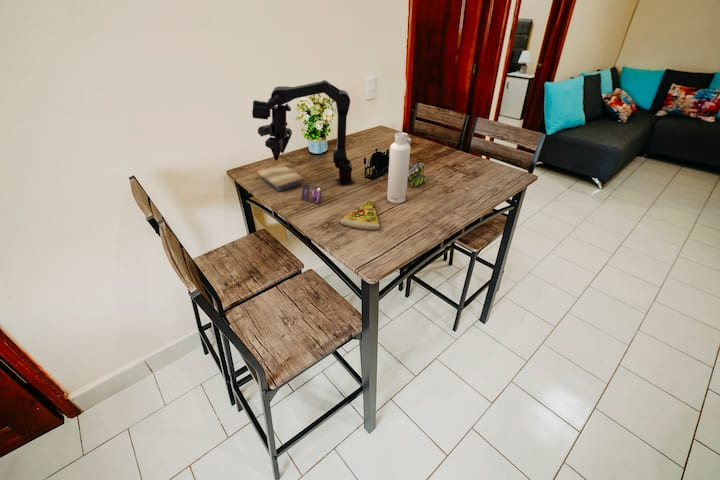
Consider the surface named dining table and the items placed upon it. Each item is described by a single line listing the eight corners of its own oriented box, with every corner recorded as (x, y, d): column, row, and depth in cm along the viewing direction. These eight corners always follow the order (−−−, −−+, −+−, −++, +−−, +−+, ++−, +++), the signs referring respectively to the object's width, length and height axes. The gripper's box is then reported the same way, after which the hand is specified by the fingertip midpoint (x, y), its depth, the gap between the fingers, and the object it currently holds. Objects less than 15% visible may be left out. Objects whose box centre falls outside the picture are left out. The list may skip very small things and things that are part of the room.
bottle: (383, 195, 147) (387, 132, 131) (400, 192, 150) (405, 129, 133) (391, 204, 141) (396, 139, 125) (409, 201, 143) (415, 136, 127)
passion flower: (407, 190, 163) (407, 165, 163) (429, 189, 159) (430, 164, 159) (402, 186, 152) (402, 160, 152) (426, 185, 149) (426, 158, 149)
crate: (298, 184, 156) (298, 178, 154) (279, 191, 150) (278, 185, 149) (281, 173, 165) (280, 167, 164) (263, 179, 160) (262, 173, 158)
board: (303, 179, 153) (303, 177, 153) (278, 187, 147) (277, 185, 146) (281, 165, 166) (281, 163, 165) (257, 172, 159) (256, 170, 158)
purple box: (302, 183, 142) (320, 188, 139) (308, 182, 146) (326, 187, 143) (300, 199, 144) (318, 203, 141) (307, 197, 148) (324, 202, 145)
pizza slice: (338, 226, 128) (338, 219, 126) (354, 200, 144) (354, 194, 142) (378, 232, 124) (378, 225, 123) (389, 205, 141) (390, 199, 139)
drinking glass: (411, 158, 181) (413, 140, 175) (400, 160, 179) (401, 141, 173) (405, 153, 186) (407, 136, 180) (394, 155, 184) (396, 137, 178)
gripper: (267, 111, 146) (267, 146, 155) (251, 123, 131) (253, 161, 140) (292, 115, 146) (291, 150, 155) (279, 128, 131) (280, 165, 140)
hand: (279, 156), depth 147 cm, fingers open, 9 cm apart
